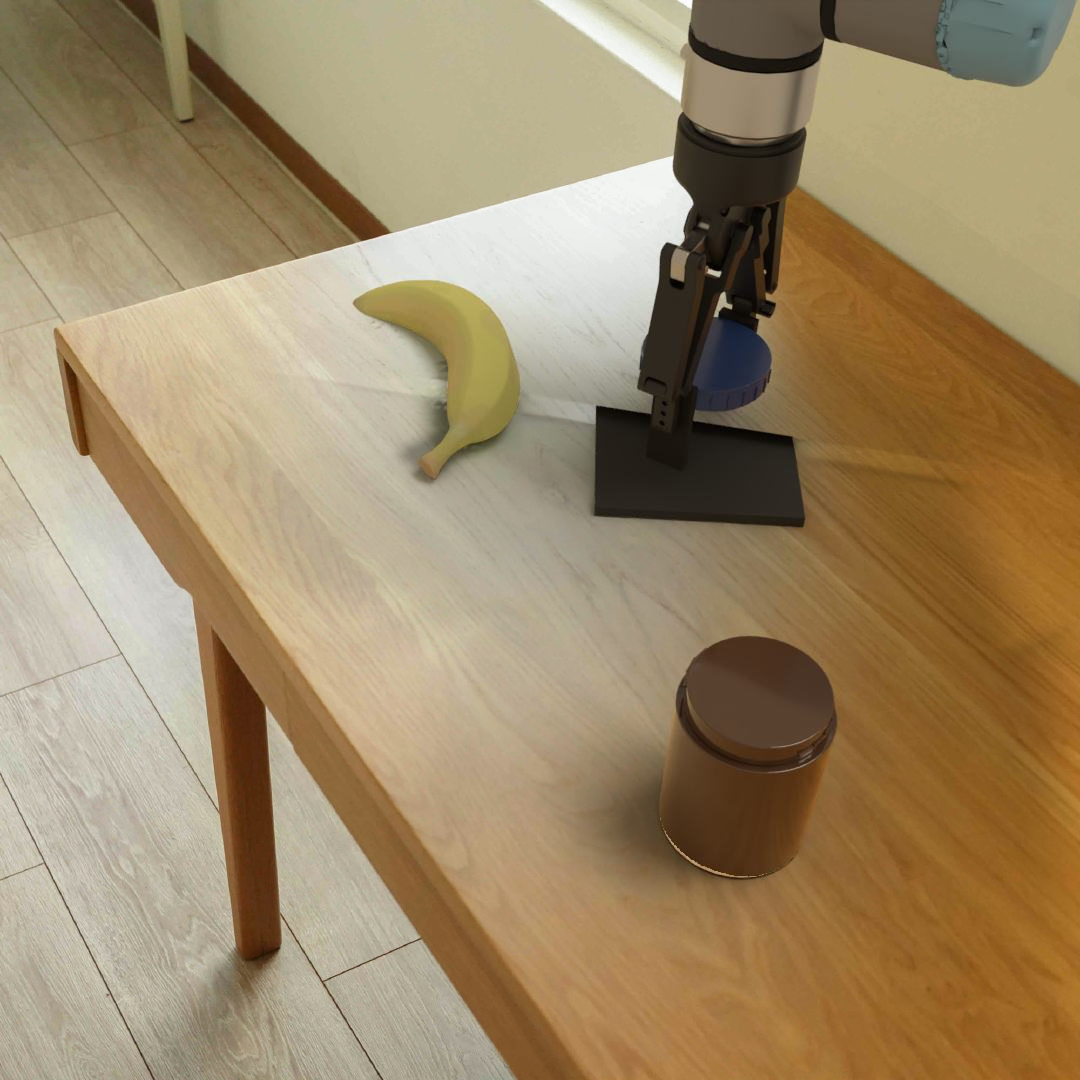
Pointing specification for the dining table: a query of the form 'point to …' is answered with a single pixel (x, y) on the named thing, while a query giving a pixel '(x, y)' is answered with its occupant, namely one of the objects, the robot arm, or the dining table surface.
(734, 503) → the tray
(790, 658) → the jar
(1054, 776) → the dining table surface
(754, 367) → the jar lid
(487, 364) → the banana
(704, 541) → the dining table surface
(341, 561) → the dining table surface
